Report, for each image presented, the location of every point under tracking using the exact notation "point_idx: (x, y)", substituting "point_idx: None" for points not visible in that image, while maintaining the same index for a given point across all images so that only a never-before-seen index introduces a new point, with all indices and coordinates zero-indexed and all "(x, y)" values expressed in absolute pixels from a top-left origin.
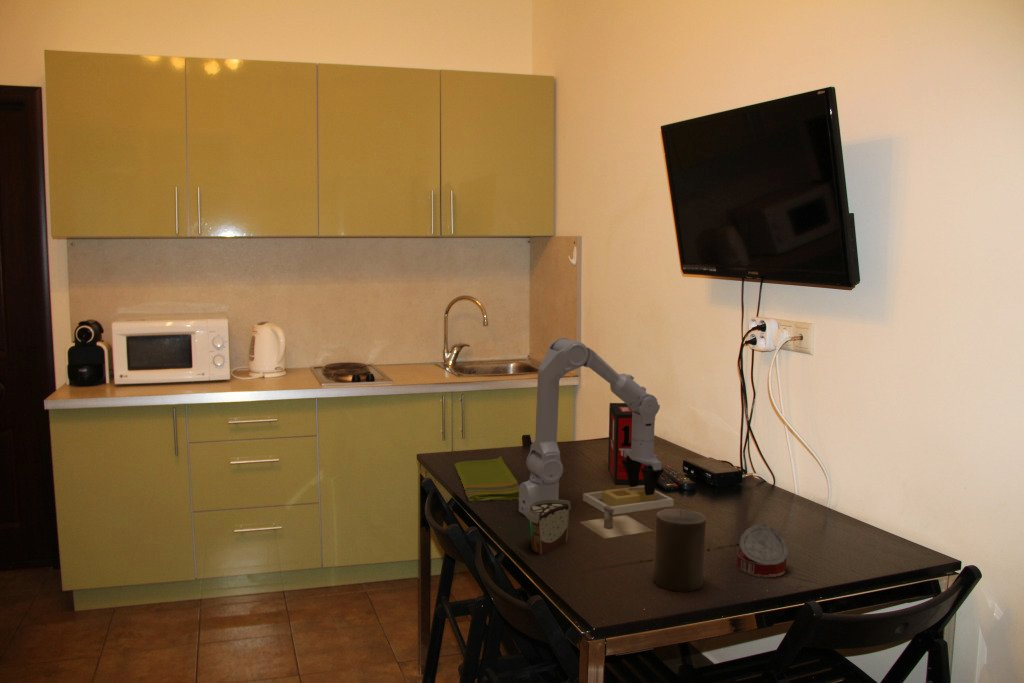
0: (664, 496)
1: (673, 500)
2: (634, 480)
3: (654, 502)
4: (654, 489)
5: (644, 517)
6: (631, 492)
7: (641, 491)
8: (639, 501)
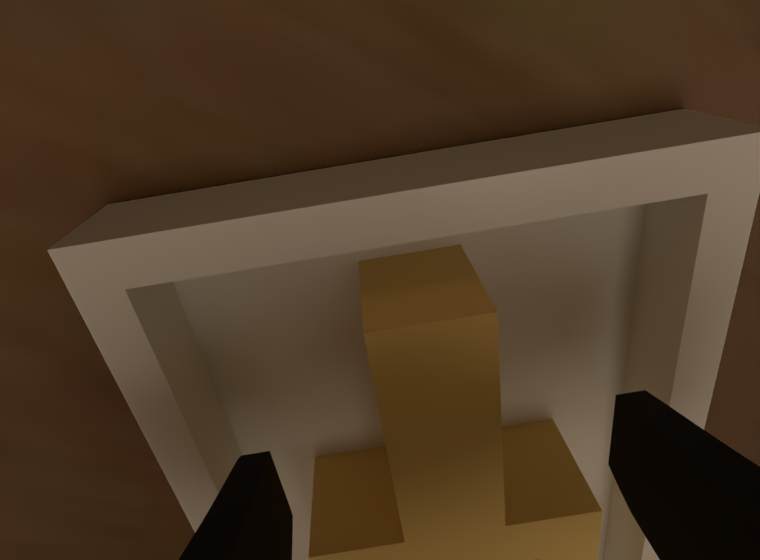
0: (613, 203)
1: (757, 128)
2: (264, 555)
3: (712, 379)
4: (703, 435)
5: (719, 428)
6: (477, 548)
7: (483, 465)
8: (573, 461)
